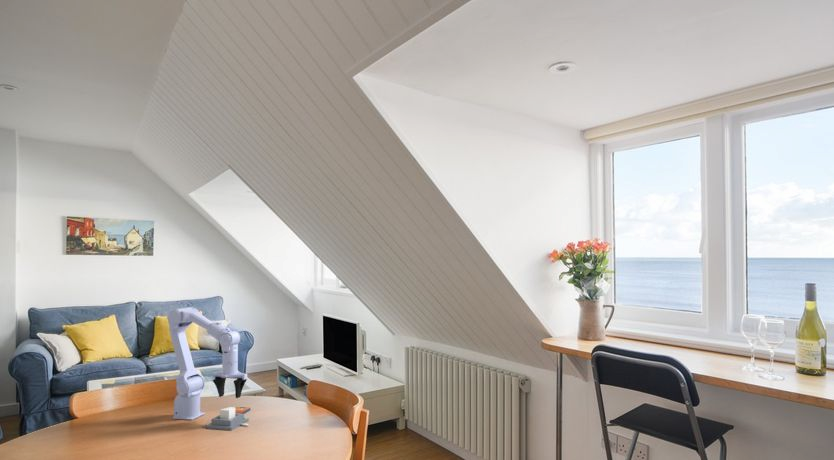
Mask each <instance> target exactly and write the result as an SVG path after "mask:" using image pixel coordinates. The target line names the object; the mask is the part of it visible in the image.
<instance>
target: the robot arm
mask: <svg viewBox="0 0 834 460" xmlns="http://www.w3.org/2000/svg"><path fill="white" fill-rule="evenodd" d="M166 319H167V322H168V326H169V328H168V329H169V335H170V339H171V342H172V346H173V351H174V355H175V359H176V361H177V365H178V369H179V374H178V376H177V377H176V379H175V382H176V386H175V387H176V388H175V389H176V392H177V393H178V394H177V395H176V396H175V398H174V400H173V416H172V419H175V420H176V419H178V420H188V421H190V420H191V421H192V420H195V419H197V418H200V417H201V416H204V415H205V414H206V412H203V411H201V393H202V392H203V389H204V388H205V383H206V382H205V378H204V377H203V376H202V374H201V371H200V370H198V369H197V368H195V365H194V361H193V358H192V353H191V350H190V346H189V343H188V339H187V338H188V337H187V335H186V330H187V329H188V328H189V326H191V325H192V324H193V323H194V324H196V325H197V326H199V327H201V328H203V329H205V330H207V331H206V332H207V335H209V336H210V337H213V338H214V339H216V340H217V341H218V342H219V344H220V346H221V352H222V360H221V361H222V363H221V364H222V365H221V366H222V367H221V368H222V370H221V371H215V372H212V378H214V379H212V381H213V383H214V385H215V388H216V390H217V393H218V397H223V396H224V395H225V384H226V380H227V379H233V384H234V389H235V394H234V395H235V399H239V398H241V395H242V391H243V388H244V387H245V384H246V382H247V379H248V373H243V372H239V370H238V369H239V367H238V366H239V365H238V363H239V357H238V356H239V343H241V341H242V335H241V333H240V332H239V331H238V330H236V329H233V330H231V328H230V327H226V326H225V325H224V324H222V322H221V321H214V322H213V321H211V320H210V319H208V318H207V317H206V316H205V315H203V314H202V313H200V312H199V310H198V309H197V308H195V307H193V306H188V307H182V308H181V307H180V308H173V309H171V310H170V311H169V313H168V315H167V318H166ZM234 379H235V380H234Z"/></svg>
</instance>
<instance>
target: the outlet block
mask: <svg viewBox="0 0 834 460" xmlns="http://www.w3.org/2000/svg"><path fill="white" fill-rule="evenodd" d="M210 421H211V422H210V423H207V424H206V425H205V426H206V427H205V428H206V429H211V430H223V431H232V430H235V429H237V428H238V427H240V426H243V427H248V426H249V423H247V422H249V421H250V418H249V417H245V414H240V413H235V417H234V418H232V419H220V414H219V415H217V416H215V417H213V418H211V420H210Z"/></svg>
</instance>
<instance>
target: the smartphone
mask: <svg viewBox="0 0 834 460" xmlns="http://www.w3.org/2000/svg"><path fill="white" fill-rule="evenodd" d="M249 411H251V407H243V406H242V407H241V406H236V407H235V413H240V414H244V415H245V414H246V413H249Z"/></svg>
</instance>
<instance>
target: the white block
mask: <svg viewBox="0 0 834 460" xmlns="http://www.w3.org/2000/svg"><path fill="white" fill-rule="evenodd" d="M219 415H220V419H232V418H234V417H235V407H234V406H232V407H231V406H225V407H222V408H221V409H219Z"/></svg>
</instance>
